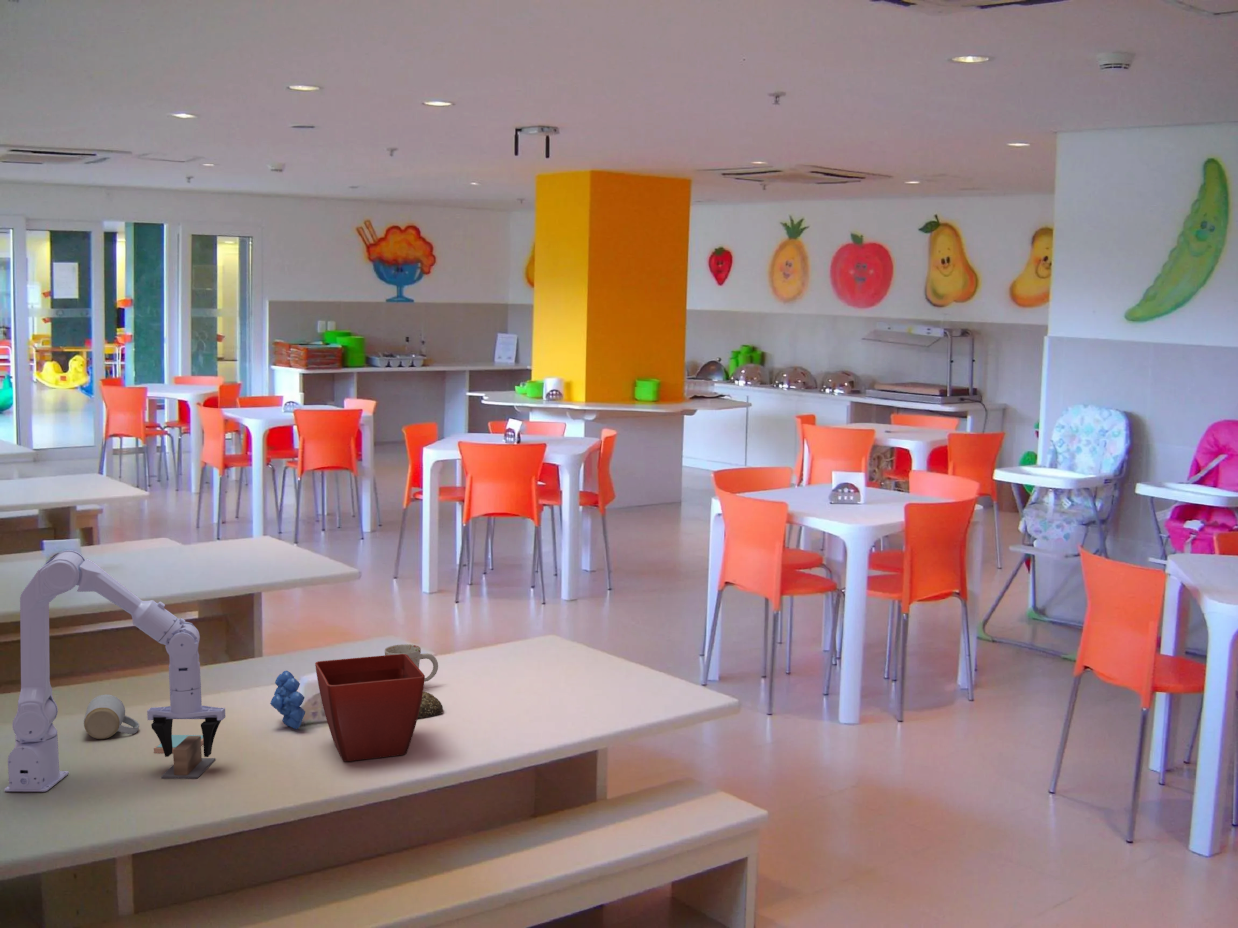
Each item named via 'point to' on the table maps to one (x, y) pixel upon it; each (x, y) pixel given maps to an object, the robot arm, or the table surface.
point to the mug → (413, 656)
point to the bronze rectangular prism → (187, 755)
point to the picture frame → (175, 742)
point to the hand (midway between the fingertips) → (188, 754)
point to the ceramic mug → (107, 718)
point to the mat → (194, 773)
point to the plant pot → (371, 704)
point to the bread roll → (429, 706)
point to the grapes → (288, 700)
